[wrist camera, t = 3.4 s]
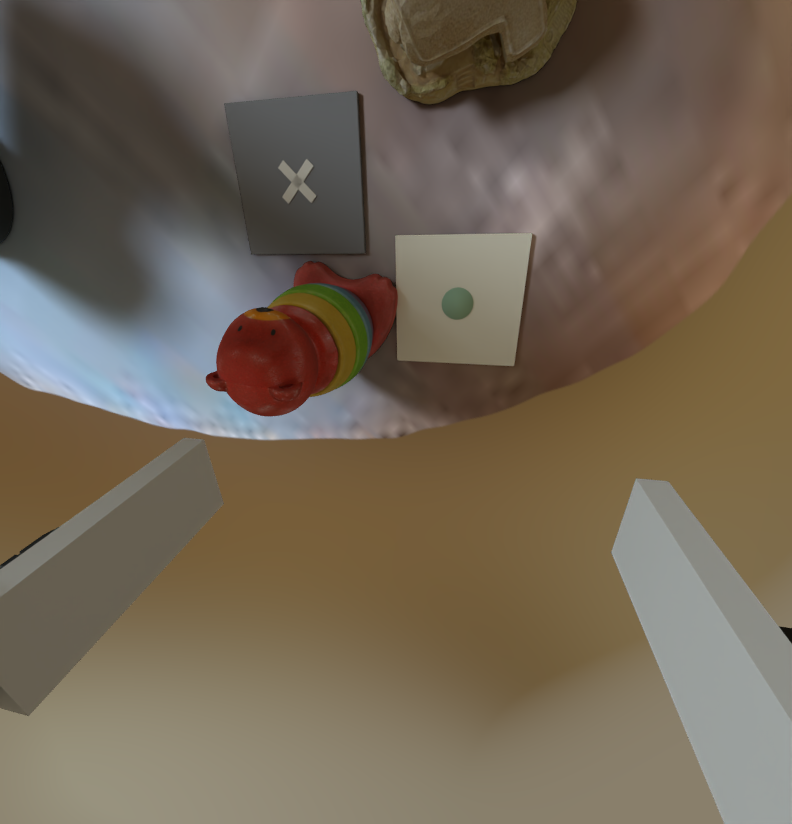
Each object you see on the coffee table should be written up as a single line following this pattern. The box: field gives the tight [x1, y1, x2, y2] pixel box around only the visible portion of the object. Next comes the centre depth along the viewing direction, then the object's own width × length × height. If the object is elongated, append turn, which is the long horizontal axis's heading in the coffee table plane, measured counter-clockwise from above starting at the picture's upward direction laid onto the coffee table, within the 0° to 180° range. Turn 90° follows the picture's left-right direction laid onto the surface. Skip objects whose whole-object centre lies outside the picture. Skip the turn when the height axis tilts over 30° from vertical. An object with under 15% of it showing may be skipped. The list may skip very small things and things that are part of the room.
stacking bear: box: [206, 261, 398, 416], centre depth 30 cm, size 11×10×18 cm
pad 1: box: [224, 91, 366, 254], centre depth 33 cm, size 12×12×1 cm
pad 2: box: [395, 233, 532, 366], centre depth 35 cm, size 12×12×1 cm
